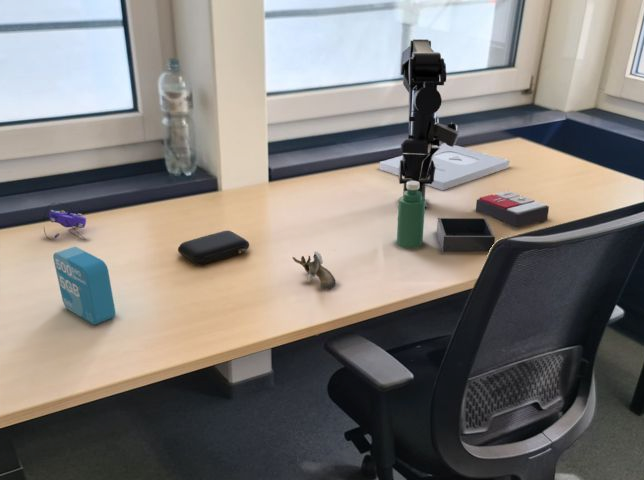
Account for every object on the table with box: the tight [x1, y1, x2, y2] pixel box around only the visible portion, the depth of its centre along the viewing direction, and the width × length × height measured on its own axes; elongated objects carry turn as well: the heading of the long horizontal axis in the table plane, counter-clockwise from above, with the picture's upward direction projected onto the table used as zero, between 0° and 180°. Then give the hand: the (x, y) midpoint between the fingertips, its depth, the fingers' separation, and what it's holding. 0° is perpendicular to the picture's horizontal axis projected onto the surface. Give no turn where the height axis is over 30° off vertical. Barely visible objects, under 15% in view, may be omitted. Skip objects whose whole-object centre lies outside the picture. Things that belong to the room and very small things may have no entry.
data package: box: [52, 246, 117, 326], centre depth 143 cm, size 12×4×12 cm, turn 47°
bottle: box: [396, 181, 426, 249], centre depth 172 cm, size 6×6×15 cm
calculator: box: [475, 190, 550, 229], centre depth 190 cm, size 11×4×15 cm
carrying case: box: [177, 230, 250, 266], centre depth 170 cm, size 11×3×15 cm
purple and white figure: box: [43, 202, 87, 241], centre depth 179 cm, size 10×8×10 cm
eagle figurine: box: [291, 251, 337, 291], centre depth 157 cm, size 8×7×9 cm
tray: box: [436, 217, 496, 253], centre depth 176 cm, size 12×12×4 cm
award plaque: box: [379, 142, 510, 191], centre depth 222 cm, size 25×30×2 cm
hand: (420, 180), depth 179 cm, fingers open, 9 cm apart
